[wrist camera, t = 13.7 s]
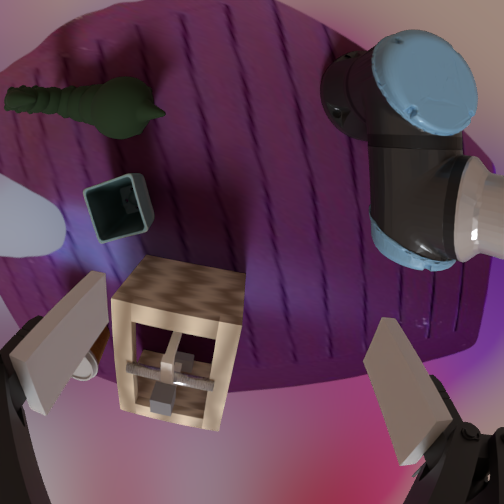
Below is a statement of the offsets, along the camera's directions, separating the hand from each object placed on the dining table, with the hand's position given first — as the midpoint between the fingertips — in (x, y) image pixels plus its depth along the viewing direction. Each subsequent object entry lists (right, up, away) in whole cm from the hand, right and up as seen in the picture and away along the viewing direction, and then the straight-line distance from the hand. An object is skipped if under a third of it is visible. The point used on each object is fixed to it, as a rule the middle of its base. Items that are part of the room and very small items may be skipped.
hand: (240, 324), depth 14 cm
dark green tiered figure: (-23, +28, +31) cm, 48 cm away
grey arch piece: (-12, -12, +40) cm, 43 cm away
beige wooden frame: (-12, -10, +45) cm, 48 cm away
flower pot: (-19, +13, +37) cm, 43 cm away
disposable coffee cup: (-33, -13, +47) cm, 59 cm away
